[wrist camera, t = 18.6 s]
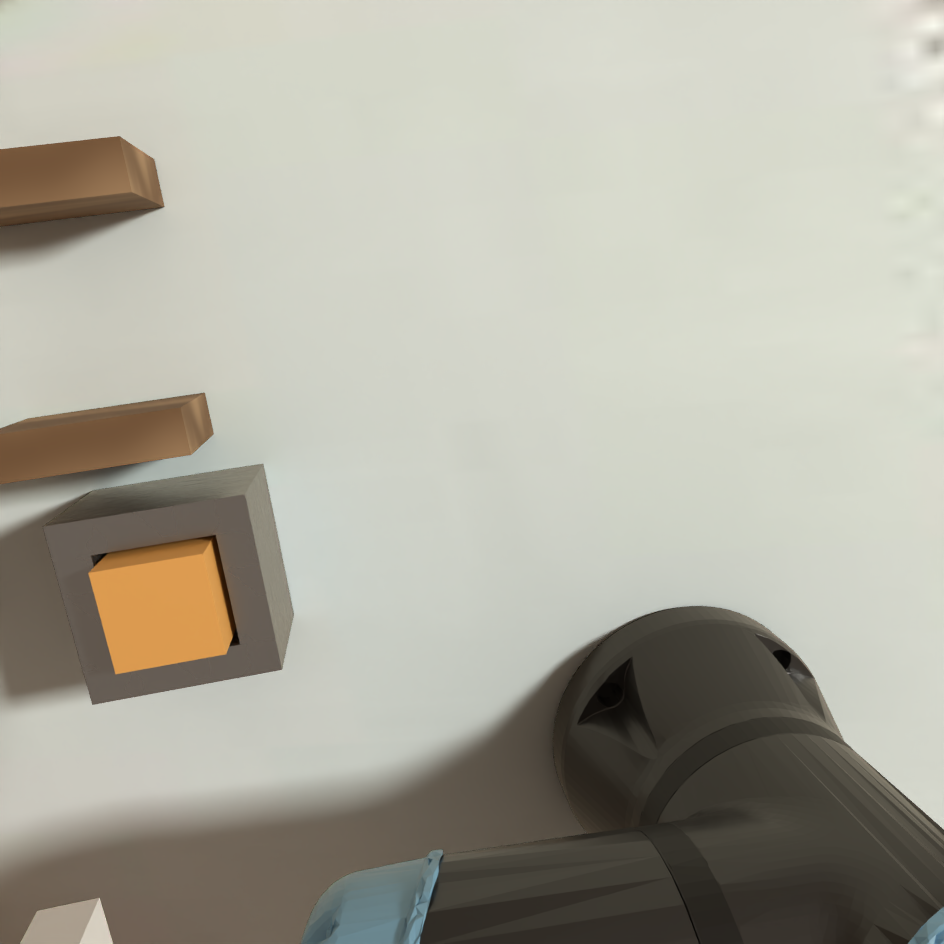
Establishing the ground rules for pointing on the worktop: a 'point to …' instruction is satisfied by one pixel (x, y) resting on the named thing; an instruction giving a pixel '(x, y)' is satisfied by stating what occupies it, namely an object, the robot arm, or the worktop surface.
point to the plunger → (164, 604)
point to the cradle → (110, 428)
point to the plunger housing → (168, 520)
